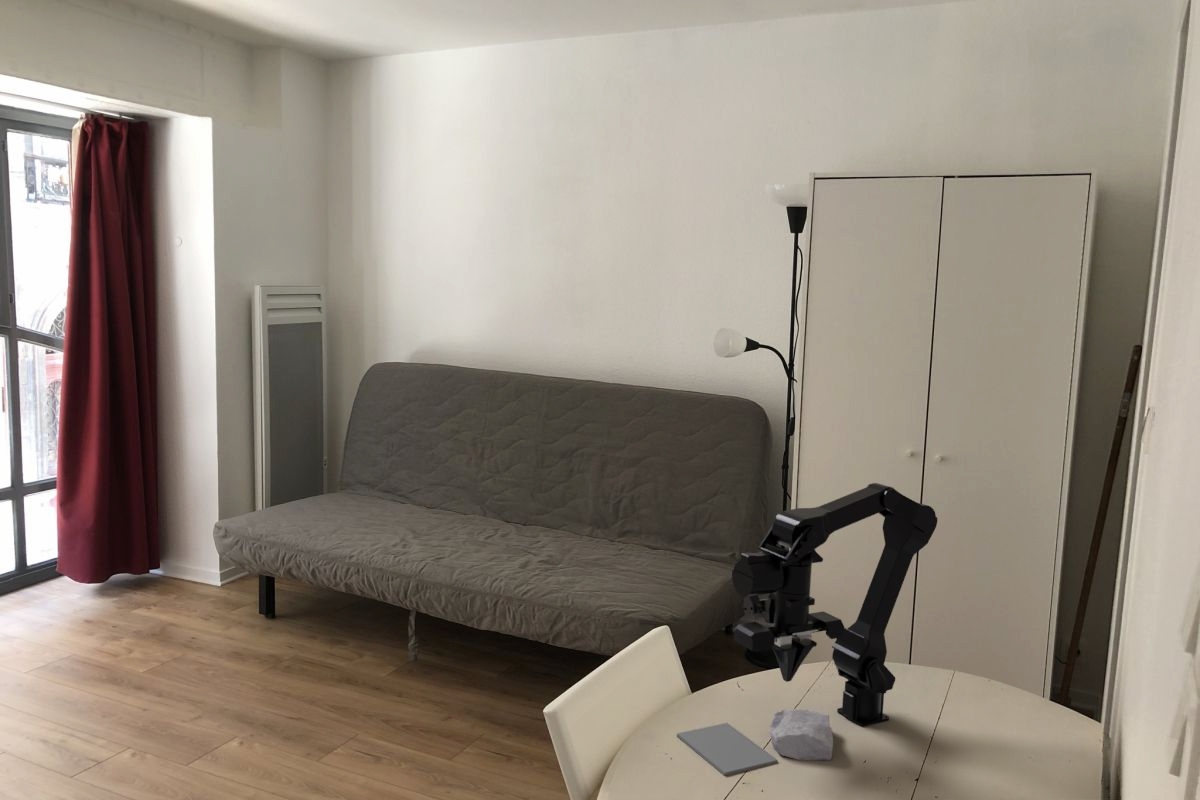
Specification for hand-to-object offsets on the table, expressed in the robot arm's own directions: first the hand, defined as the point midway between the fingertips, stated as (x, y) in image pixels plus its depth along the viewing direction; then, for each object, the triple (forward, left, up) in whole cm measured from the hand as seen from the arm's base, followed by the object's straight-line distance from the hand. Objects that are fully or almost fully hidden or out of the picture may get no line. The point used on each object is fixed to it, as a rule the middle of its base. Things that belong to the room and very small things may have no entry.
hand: (786, 680), depth 157 cm
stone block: (+3, 0, -9) cm, 10 cm away
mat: (+12, 0, -10) cm, 15 cm away
